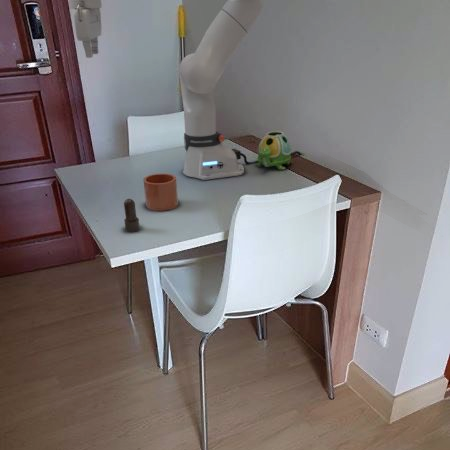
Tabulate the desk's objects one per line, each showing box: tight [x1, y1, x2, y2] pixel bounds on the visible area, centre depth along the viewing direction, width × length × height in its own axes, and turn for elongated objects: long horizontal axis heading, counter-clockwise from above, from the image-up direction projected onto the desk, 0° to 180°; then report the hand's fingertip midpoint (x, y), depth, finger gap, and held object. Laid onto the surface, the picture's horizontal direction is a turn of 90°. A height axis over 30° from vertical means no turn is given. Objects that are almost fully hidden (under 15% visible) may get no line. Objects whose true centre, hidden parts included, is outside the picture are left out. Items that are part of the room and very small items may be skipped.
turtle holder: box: [256, 130, 292, 171], centre depth 181 cm, size 12×18×12 cm
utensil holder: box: [143, 173, 179, 212], centre depth 152 cm, size 10×10×8 cm
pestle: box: [123, 198, 141, 233], centre depth 137 cm, size 4×4×9 cm
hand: (92, 55), depth 145 cm, fingers open, 8 cm apart
